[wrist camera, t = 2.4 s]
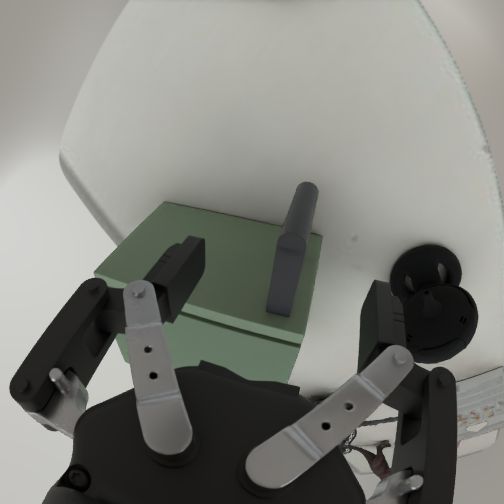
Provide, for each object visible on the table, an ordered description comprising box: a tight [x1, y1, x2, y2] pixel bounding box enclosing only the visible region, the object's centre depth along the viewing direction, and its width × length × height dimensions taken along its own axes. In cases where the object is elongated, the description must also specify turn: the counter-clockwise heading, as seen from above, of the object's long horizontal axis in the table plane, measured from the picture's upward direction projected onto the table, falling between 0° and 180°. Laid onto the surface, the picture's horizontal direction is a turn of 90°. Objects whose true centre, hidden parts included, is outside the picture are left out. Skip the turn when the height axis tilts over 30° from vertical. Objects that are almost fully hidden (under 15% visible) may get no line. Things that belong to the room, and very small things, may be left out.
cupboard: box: [108, 286, 301, 384], centre depth 28 cm, size 11×16×12 cm
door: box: [94, 182, 322, 344], centre depth 23 cm, size 7×16×12 cm, turn 85°
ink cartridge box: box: [456, 367, 504, 442], centre depth 30 cm, size 2×11×10 cm, turn 125°
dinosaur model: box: [340, 441, 391, 480], centre depth 48 cm, size 4×12×15 cm
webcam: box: [390, 246, 478, 364], centre depth 23 cm, size 8×8×10 cm
